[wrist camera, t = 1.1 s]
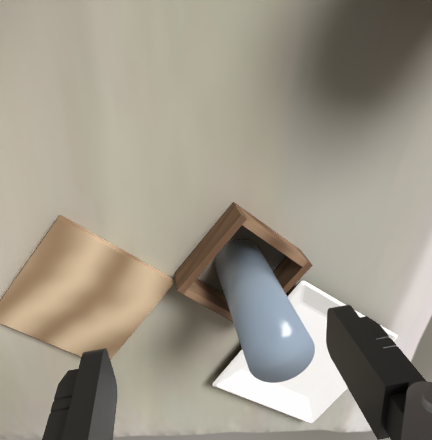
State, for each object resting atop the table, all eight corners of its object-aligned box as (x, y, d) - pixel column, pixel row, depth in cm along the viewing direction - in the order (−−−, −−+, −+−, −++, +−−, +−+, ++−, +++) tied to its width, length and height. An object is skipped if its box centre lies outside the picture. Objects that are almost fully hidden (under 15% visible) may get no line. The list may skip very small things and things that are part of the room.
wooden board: (-9, 312, 40) (-12, 318, 39) (59, 214, 37) (57, 218, 36) (105, 360, 46) (104, 366, 45) (173, 278, 43) (173, 283, 42)
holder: (174, 273, 42) (177, 290, 39) (233, 202, 40) (241, 214, 37) (243, 312, 46) (250, 331, 43) (300, 249, 44) (312, 265, 41)
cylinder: (205, 267, 43) (233, 367, 29) (236, 230, 41) (280, 317, 28) (241, 289, 45) (283, 391, 31) (271, 255, 44) (328, 346, 30)
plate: (391, 327, 53) (400, 337, 51) (306, 413, 57) (312, 425, 55) (296, 271, 46) (303, 280, 44) (208, 374, 50) (211, 386, 48)
